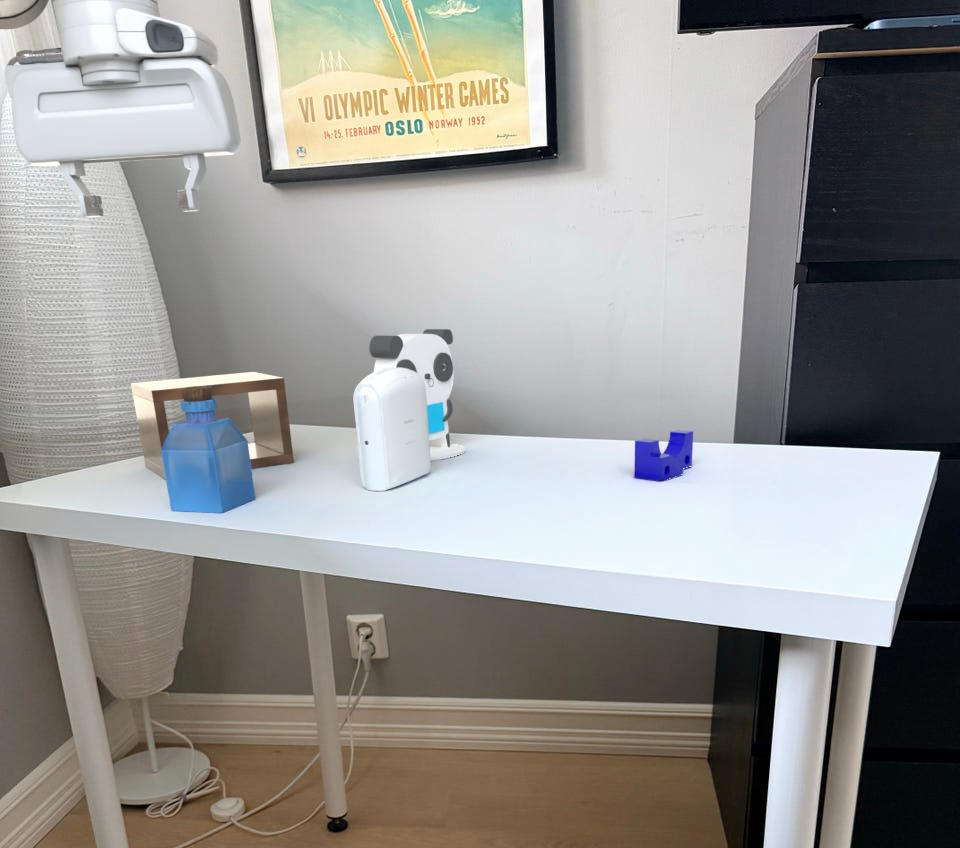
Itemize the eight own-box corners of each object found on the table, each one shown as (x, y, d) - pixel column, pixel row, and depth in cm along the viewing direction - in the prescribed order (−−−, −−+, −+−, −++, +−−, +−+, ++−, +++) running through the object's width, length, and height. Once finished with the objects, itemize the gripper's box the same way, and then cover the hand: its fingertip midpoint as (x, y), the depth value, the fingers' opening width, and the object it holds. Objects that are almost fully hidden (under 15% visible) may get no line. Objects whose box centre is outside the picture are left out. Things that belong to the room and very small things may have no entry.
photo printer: (389, 492, 99) (379, 373, 95) (355, 490, 101) (344, 373, 96) (436, 473, 108) (430, 363, 103) (405, 471, 109) (397, 363, 105)
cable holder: (661, 481, 98) (662, 443, 97) (634, 477, 101) (635, 440, 99) (703, 468, 103) (704, 432, 102) (676, 465, 106) (677, 429, 104)
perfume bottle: (206, 497, 101) (189, 384, 97) (255, 499, 99) (239, 383, 95) (171, 510, 96) (150, 391, 92) (222, 513, 94) (203, 391, 89)
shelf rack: (166, 480, 111) (151, 390, 107) (145, 466, 121) (130, 383, 117) (294, 462, 118) (284, 377, 114) (264, 450, 128) (254, 371, 124)
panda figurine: (421, 465, 113) (412, 336, 107) (356, 457, 119) (344, 335, 114) (483, 449, 121) (477, 328, 116) (419, 442, 128) (411, 328, 122)
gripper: (-19, 44, 81) (18, 218, 86) (211, 28, 79) (235, 205, 85) (18, 59, 87) (51, 221, 92) (233, 44, 85) (254, 209, 90)
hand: (141, 213), depth 88 cm, fingers open, 8 cm apart
